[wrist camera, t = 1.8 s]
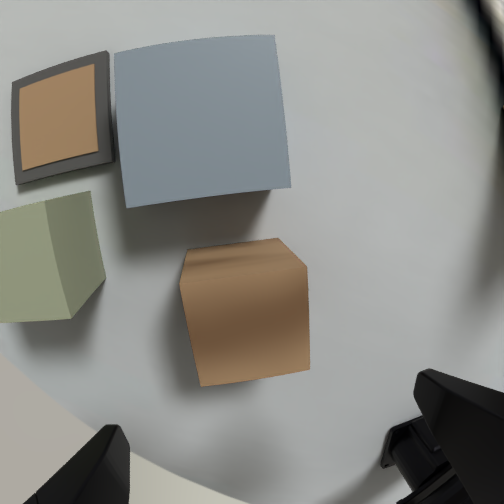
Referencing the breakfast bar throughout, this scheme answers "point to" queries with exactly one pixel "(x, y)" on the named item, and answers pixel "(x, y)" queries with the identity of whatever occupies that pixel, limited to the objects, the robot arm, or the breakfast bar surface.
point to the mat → (62, 119)
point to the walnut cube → (246, 311)
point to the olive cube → (48, 259)
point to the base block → (200, 119)
